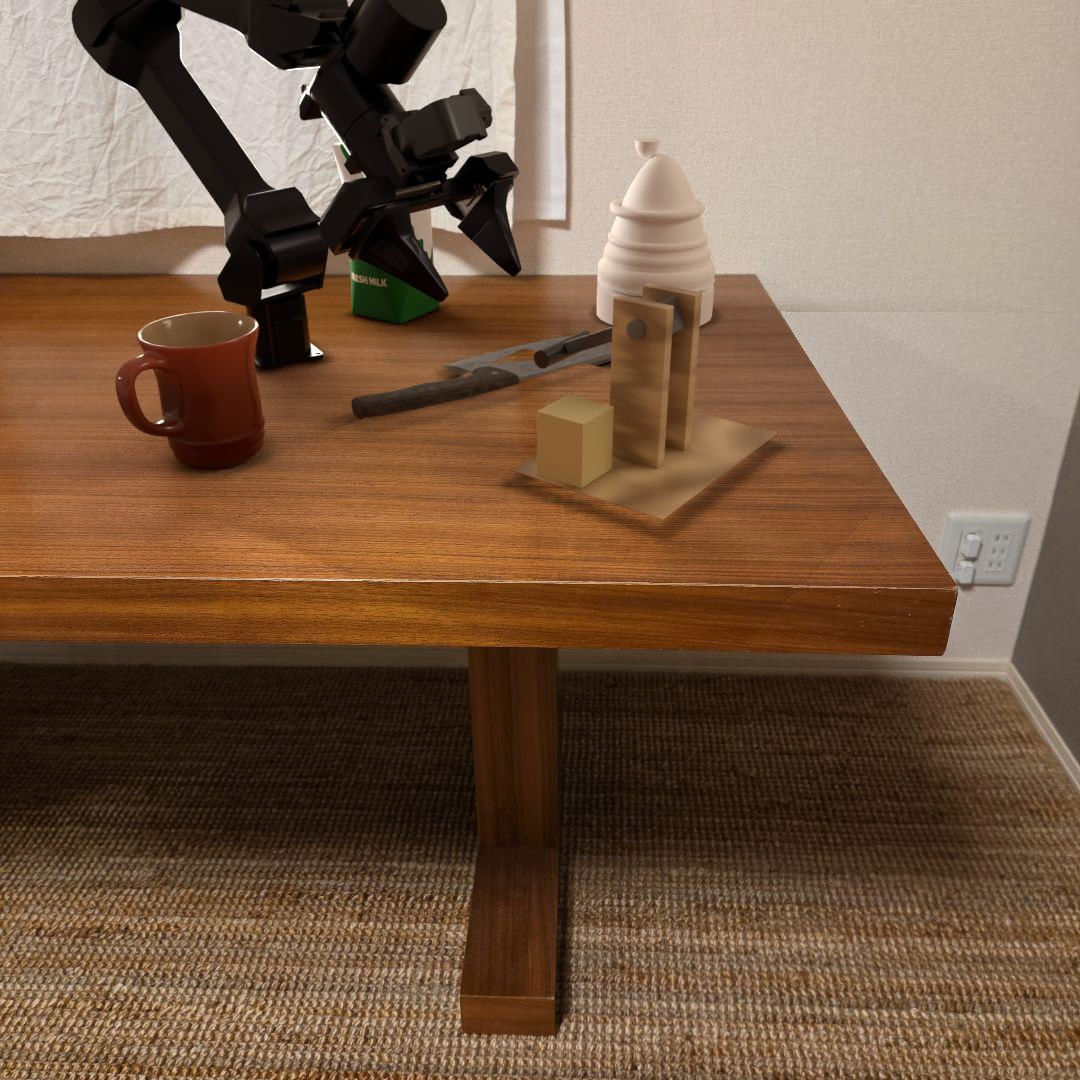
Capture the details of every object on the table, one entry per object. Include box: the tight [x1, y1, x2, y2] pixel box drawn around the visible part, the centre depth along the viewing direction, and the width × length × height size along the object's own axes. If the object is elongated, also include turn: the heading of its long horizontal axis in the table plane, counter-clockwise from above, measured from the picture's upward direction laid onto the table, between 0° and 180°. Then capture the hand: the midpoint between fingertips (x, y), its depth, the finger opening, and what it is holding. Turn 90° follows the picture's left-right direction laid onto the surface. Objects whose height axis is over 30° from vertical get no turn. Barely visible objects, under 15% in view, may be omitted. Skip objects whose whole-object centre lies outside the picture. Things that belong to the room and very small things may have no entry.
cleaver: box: [350, 334, 612, 420], centre depth 94 cm, size 29×10×2 cm, turn 131°
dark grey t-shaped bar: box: [533, 296, 685, 369], centre depth 75 cm, size 11×6×2 cm, turn 54°
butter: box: [536, 394, 614, 488], centre depth 73 cm, size 4×4×5 cm
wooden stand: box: [511, 283, 778, 521], centre depth 75 cm, size 13×18×13 cm
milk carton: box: [331, 141, 441, 325], centre depth 109 cm, size 9×9×20 cm
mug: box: [114, 311, 266, 470], centre depth 76 cm, size 12×9×10 cm
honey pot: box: [596, 137, 717, 326], centre depth 108 cm, size 13×13×18 cm
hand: (482, 285), depth 81 cm, fingers open, 9 cm apart
